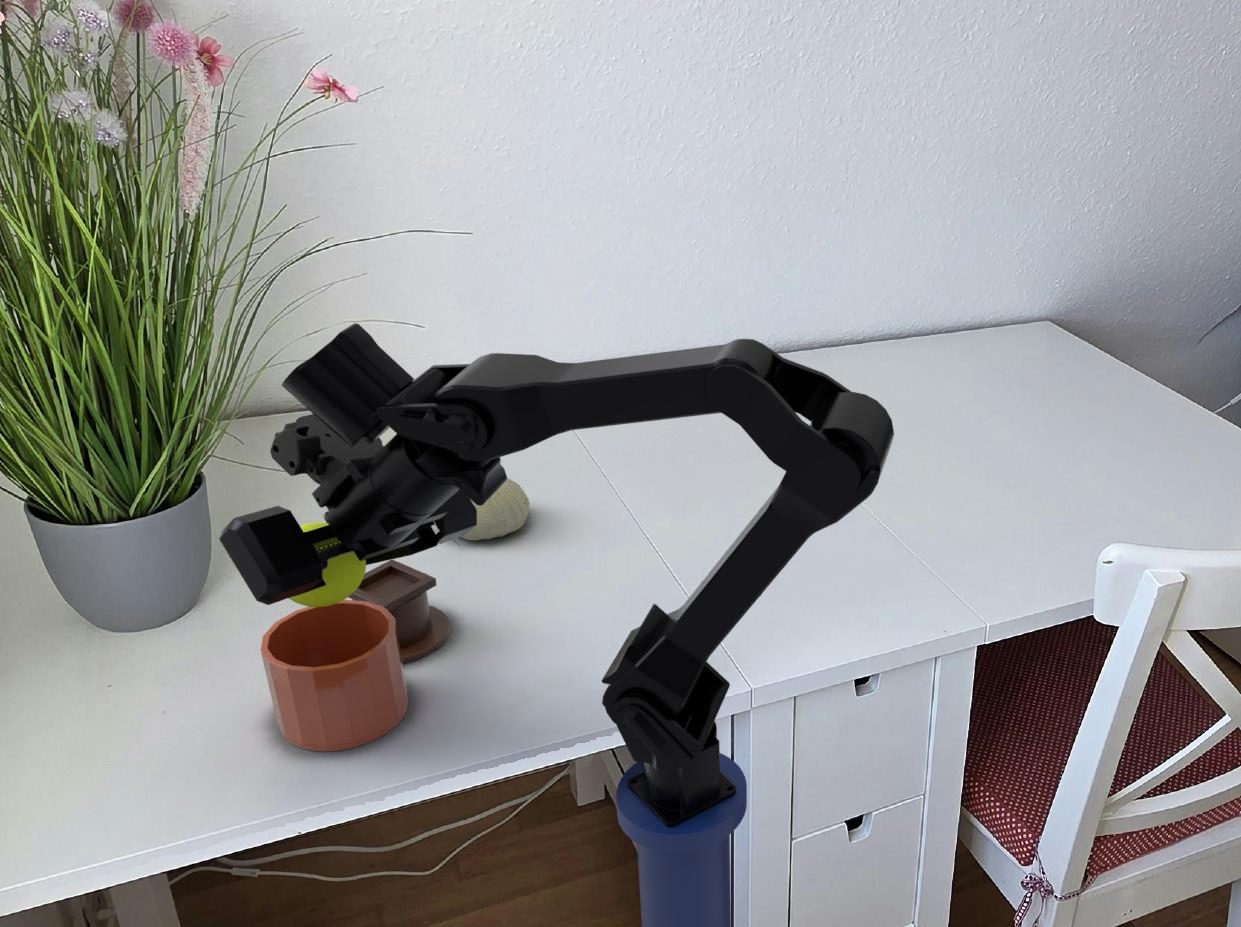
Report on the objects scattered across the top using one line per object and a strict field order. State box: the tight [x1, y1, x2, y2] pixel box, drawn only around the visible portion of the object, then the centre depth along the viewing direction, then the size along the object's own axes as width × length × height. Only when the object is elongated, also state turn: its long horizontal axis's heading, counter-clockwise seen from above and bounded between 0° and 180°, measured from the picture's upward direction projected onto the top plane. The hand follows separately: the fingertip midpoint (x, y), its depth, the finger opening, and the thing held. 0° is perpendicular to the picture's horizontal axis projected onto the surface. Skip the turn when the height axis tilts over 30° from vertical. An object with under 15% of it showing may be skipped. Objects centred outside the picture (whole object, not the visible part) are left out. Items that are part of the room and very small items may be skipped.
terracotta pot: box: [260, 599, 409, 752], centre depth 99 cm, size 10×10×8 cm
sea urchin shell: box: [459, 477, 530, 541], centre depth 128 cm, size 9×8×8 cm
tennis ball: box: [288, 521, 367, 607], centre depth 95 cm, size 7×7×7 cm
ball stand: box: [348, 559, 451, 664], centre depth 109 cm, size 9×9×6 cm
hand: (308, 575), depth 96 cm, fingers closed on tennis ball, 6 cm apart
